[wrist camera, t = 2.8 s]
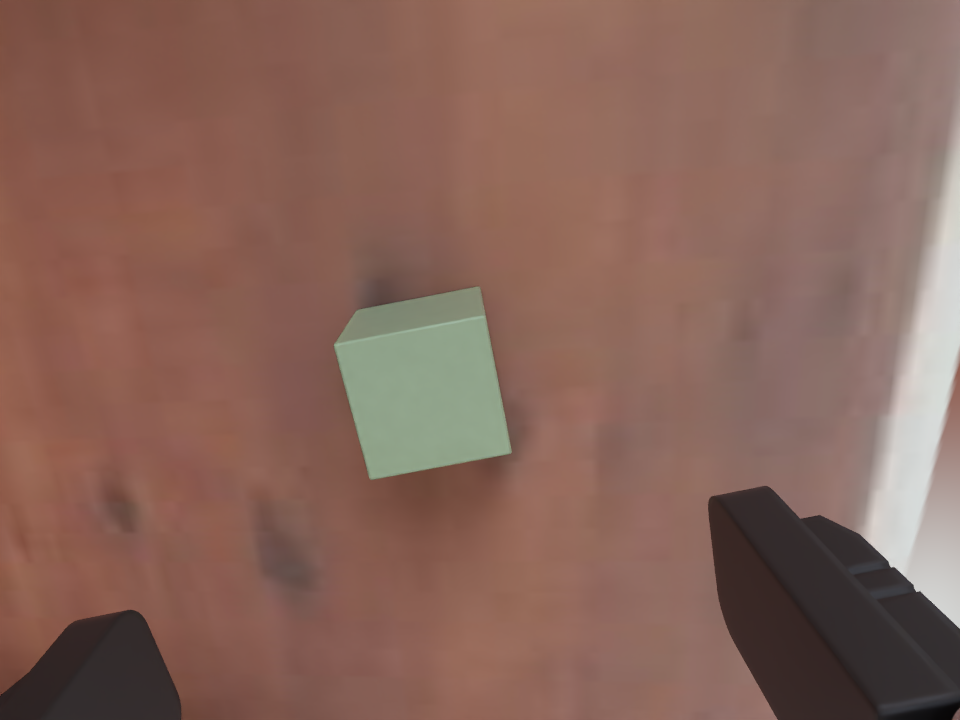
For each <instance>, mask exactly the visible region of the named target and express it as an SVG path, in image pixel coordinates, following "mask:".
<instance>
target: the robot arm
mask: <svg viewBox="0 0 960 720" xmlns="http://www.w3.org/2000/svg"><path fill="white" fill-rule="evenodd" d="M708 512H709V522H710V530H711V539H712V548H713V557H714V566H715V574H716V583H717V591H718V597H719V602H720V606H721V610H722V613H723V616H724V620H725V622H726V625H727V628H728V630H729V633H730V635H731V637H732V639H733V641H734V643H735V645H736V647H737V648H738V650H739V652H740V654H741V655H742V657H743V659H744V661H745V662H746V664H747V666H748V668H749V670H750V671H751V673H752V675H753V677H754V678H755V680H756V682H757V684H758V685H759V687H760V689H761V691H762V693H763V694H764V696H765V698H766V700H767V701H768V703H769V705H770V707H771V709H772V710H773V712H774V714H775V716H776V717H777V719H778V720H960V629H959V628H958V627H957V626H956V625H955V624H954V623H953V622H952V621H951V620H950V619H949V618H948V617H947V616H946V615H944V614H943V613H942V612H941V611H940V610H939V609H938V608H937V607H936V606H935V605H934V604H933V603H932V602H931V601H930V600H928V599H927V598H926V597H925V596H924V595H923V594H922V593H921V592H916V591H915V589H914V586H913V584H912V583H911V582H909V581H908V580H907V579H906V578H905V577H904V576H903V575H902V574H901V573H900V572H899V571H898V570H897V569H896V568H895V567H893V568H891V567H890V566H889V562H888V561H887V560H886V559H885V558H884V557H883V556H882V555H881V554H880V553H879V552H878V551H877V550H876V549H875V548H873V547H872V546H871V545H870V544H869V543H868V542H867V541H866V540H865V539H864V538H863V537H862V536H861V535H860V534H858V533H856V532H854V531H852V530H849V529H847V528H845V527H843V526H841V525H839V524H837V523H835V522H833V521H831V520H829V519H827V518H825V517H823V516H821V515H818V516H813V517H808V518H803V519H800V518H799V517H798V516H797V515H796V514H795V513H794V512H793V511H792V510H791V509H790V508H789V507H788V505H787V504H786V503H785V502H784V501H783V500H782V499H781V498H780V497H779V496H778V495H777V494H776V493H775V492H774V491H773V490H772V489H771V488H770V487H768V486H762V487H757V488H752V489H747V490H742V491H737V492H732V493H727V494H722V495H717V496H712V497H711V498H710V499H709V504H708ZM0 720H181V704H180V699H179V695H178V692H177V690H176V688H175V685H174V683H173V681H172V679H171V676H170V674H169V672H168V670H167V667H166V665H165V663H164V660H163V658H162V656H161V654H160V651H159V649H158V647H157V645H156V642H155V640H154V638H153V635H152V633H151V631H150V629H149V626H148V624H147V622H146V620H145V619H144V617H143V616H142V615H141V614H140V613H139V612H137V611H134V610H127V611H122V612H117V613H111V614H106V615H101V616H96V617H91V618H86V619H81V620H77V621H75V622H73V623H71V624H70V625H69V626H68V627H67V628H66V629H65V630H64V631H63V632H62V634H61V635H60V636H59V637H58V638H57V640H56V641H55V642H54V643H53V644H52V645H51V647H50V648H49V649H48V650H47V651H46V653H45V654H44V655H43V656H42V657H41V659H40V660H39V661H38V662H37V663H36V665H35V666H34V667H33V668H32V669H31V671H30V672H29V673H28V674H26V675H25V676H24V677H23V678H22V679H20V680H19V681H18V682H17V683H15V684H14V685H13V686H12V687H11V688H9V689H8V690H7V691H6V692H4V693H3V694H2V695H1V696H0Z"/></svg>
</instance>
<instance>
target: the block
mask: <svg viewBox="0 0 960 720" xmlns="http://www.w3.org/2000/svg"><path fill="white" fill-rule="evenodd" d="M334 349H335V353H336V357H337V360H338V364H339V368H340V372H341V375H342V379H343V383H344V386H345V390H346V394H347V397H348V401H349V405H350V409H351V412H352V416H353V420H354V423H355V427H356V431H357V435H358V438H359V442H360V446H361V449H362V453H363V457H364V461H365V464H366V468H367V472H368V475H369V478H370V480H374V479H380V478H385V477H390V476H395V475H401V474H406V473H411V472H417V471H422V470H427V469H433V468H438V467H443V466H449V465H454V464H459V463H464V462H470V461H475V460H480V459H486V458H491V457H496V456H502V455H507V454H510V453H511V451H512V450H511V445H510V440H509V434H508V429H507V424H506V419H505V413H504V408H503V403H502V397H501V392H500V387H499V382H498V377H497V371H496V366H495V361H494V356H493V351H492V345H491V340H490V335H489V330H488V325H487V319H486V314H485V309H484V304H483V299H482V293H481V288H480V287H478V286H477V287H472V288H467V289H462V290H457V291H452V292H447V293H441V294H436V295H431V296H426V297H421V298H416V299H411V300H406V301H400V302H395V303H390V304H385V305H380V306H375V307H370V308H364V309H359V310H357V311H356V312H355V313H354V315H353V316H352V318H351V319H350V321H349V322H348V324H347V325H346V327H345V328H344V330H343V331H342V333H341V335H340V336H339V338H338V339H337V341H336V342H335V344H334Z"/></svg>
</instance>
